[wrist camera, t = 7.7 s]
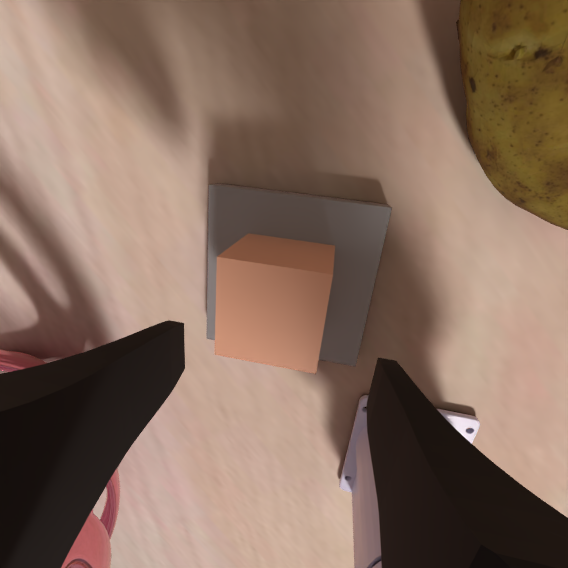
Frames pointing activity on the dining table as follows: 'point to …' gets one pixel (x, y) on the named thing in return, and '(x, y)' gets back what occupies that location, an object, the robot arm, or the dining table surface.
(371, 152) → the dining table surface
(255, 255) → the terracotta block
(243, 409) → the dining table surface
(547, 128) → the potato
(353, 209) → the slate board
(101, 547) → the spiral basket
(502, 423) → the dining table surface
